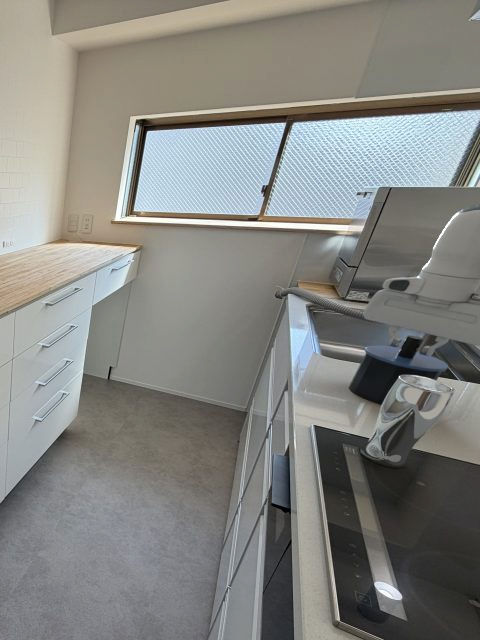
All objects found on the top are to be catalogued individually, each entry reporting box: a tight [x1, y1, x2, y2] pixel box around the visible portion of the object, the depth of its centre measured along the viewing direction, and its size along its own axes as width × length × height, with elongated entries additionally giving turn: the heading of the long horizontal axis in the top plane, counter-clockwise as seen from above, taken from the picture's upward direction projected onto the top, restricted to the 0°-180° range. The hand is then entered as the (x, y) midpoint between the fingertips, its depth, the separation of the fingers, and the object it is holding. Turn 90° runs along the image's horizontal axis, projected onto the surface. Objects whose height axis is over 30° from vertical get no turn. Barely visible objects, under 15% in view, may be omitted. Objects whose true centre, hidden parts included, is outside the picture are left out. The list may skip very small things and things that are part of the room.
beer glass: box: [359, 375, 456, 469], centre depth 70 cm, size 7×7×15 cm
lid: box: [364, 335, 449, 372], centre depth 91 cm, size 14×14×6 cm
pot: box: [348, 352, 443, 405], centre depth 94 cm, size 12×12×10 cm
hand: (408, 350), depth 91 cm, fingers open, 4 cm apart
